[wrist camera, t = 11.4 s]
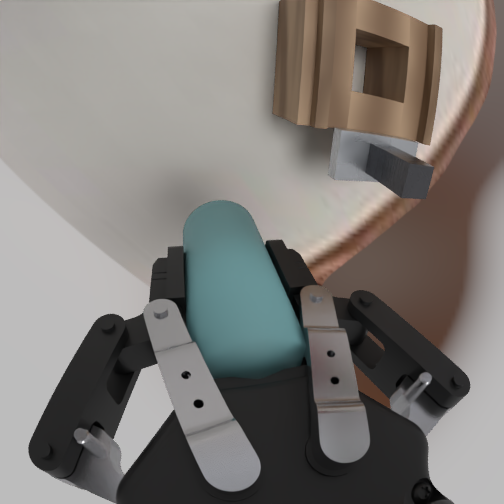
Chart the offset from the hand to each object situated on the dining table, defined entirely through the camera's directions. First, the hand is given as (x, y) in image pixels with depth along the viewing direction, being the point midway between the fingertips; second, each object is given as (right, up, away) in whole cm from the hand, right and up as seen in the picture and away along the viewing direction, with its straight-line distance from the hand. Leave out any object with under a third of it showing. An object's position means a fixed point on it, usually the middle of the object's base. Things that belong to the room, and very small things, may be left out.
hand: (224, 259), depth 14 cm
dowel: (0, +1, +2) cm, 3 cm away
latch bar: (+11, +9, +8) cm, 16 cm away
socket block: (+10, +19, +10) cm, 24 cm away
